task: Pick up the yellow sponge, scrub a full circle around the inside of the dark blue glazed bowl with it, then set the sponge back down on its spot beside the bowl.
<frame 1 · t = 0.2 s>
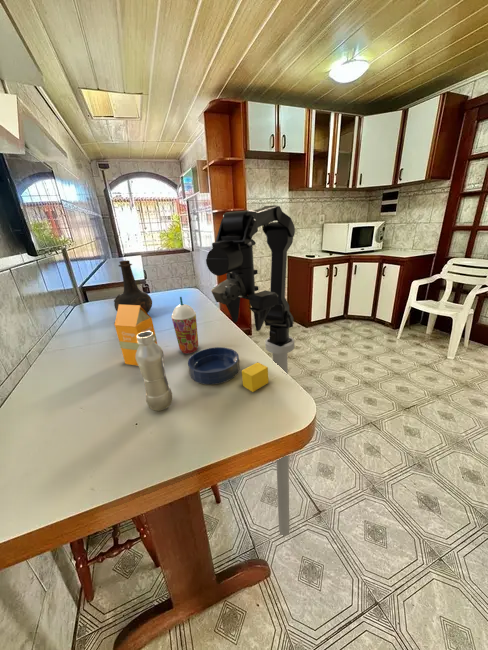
hand: (246, 326, 71), 16 cm above the table, tool pointing down, fingers open, 9 cm apart
bowl: (215, 371, 82), on the table
plastic bottle: (161, 405, 69), on the table
orange juice: (143, 360, 92), on the table
glass bottle: (136, 316, 137), on the table
sponge: (255, 384, 74), on the table
smoothie: (189, 350, 97), on the table
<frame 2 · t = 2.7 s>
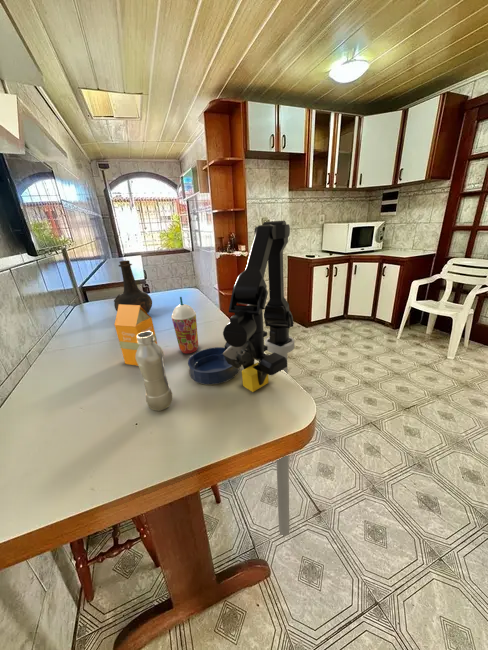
hand: (255, 381, 74), 1 cm above the table, tool pointing down, fingers closed on sponge, 4 cm apart
sponge: (255, 384, 74), on the table, touching gripper
everything else where it was.
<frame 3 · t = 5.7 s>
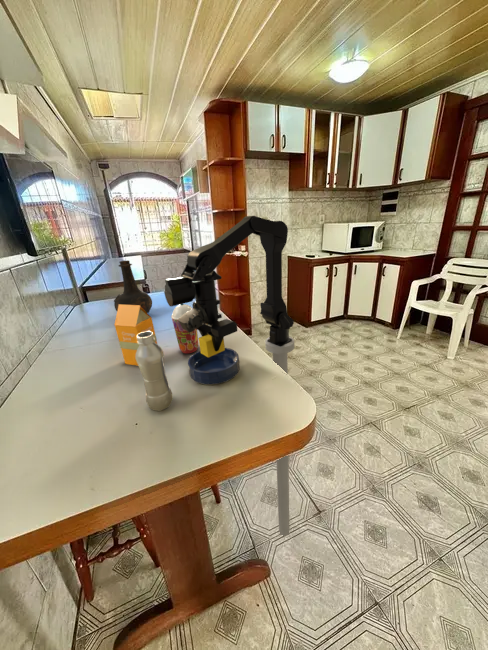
hand: (212, 348, 79), 8 cm above the table, tool pointing down, fingers closed on sponge, 4 cm apart
sponge: (212, 351, 79), point 7 cm above the table, touching gripper
everything else where it was.
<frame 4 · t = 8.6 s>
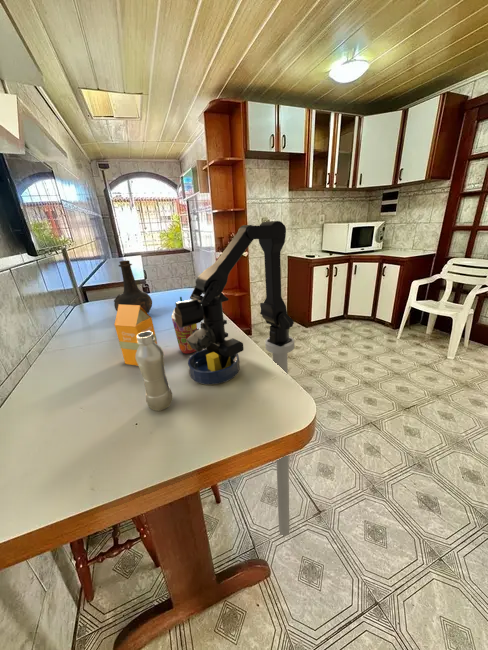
hand: (219, 365, 82), 1 cm above the table, tool pointing down, fingers closed on sponge, 4 cm apart
sponge: (219, 367, 83), point 1 cm above the table, touching gripper
everything else where it was.
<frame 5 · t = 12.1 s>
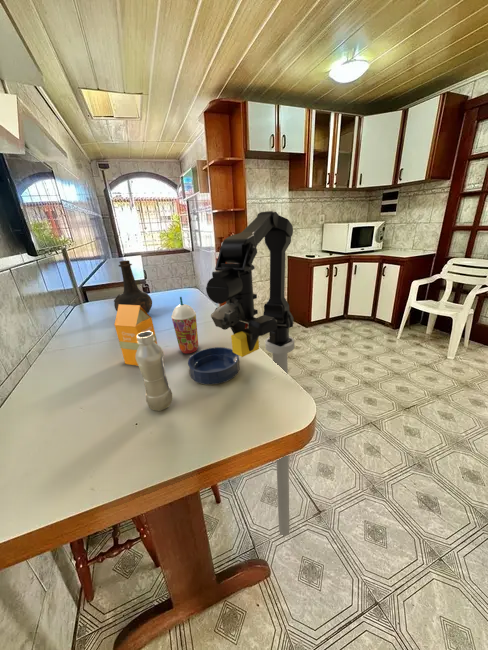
hand: (245, 348, 71), 11 cm above the table, tool pointing down, fingers closed on sponge, 4 cm apart
sponge: (245, 350, 72), point 10 cm above the table, touching gripper
everything else where it was.
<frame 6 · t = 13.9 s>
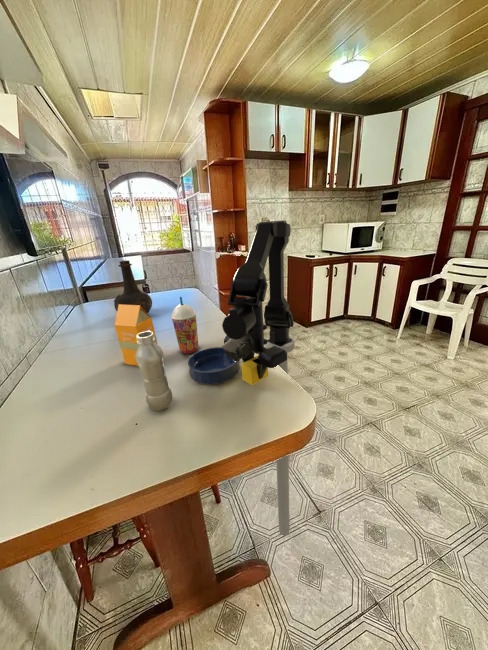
hand: (255, 375, 73), 3 cm above the table, tool pointing down, fingers closed on sponge, 4 cm apart
sponge: (255, 377, 73), point 2 cm above the table, touching gripper
everything else where it was.
when the fingers open (1 cm above the table, at t = 14.9 s): sponge stays where it is, on the table.
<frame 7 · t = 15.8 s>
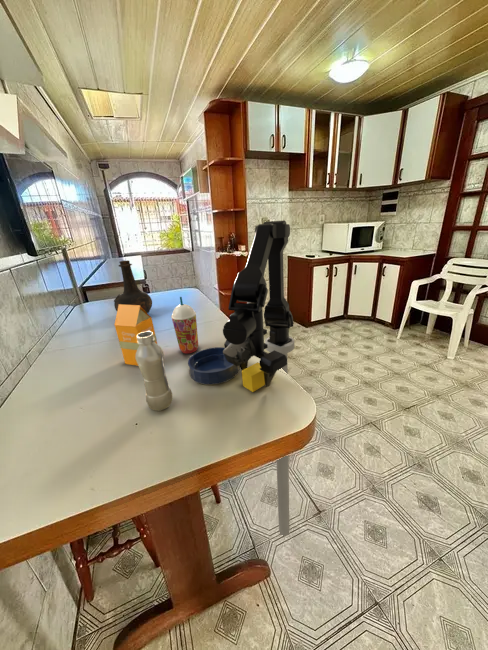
hand: (255, 379, 73), 2 cm above the table, tool pointing down, fingers open, 9 cm apart
sponge: (255, 384, 74), on the table
everything else where it was.
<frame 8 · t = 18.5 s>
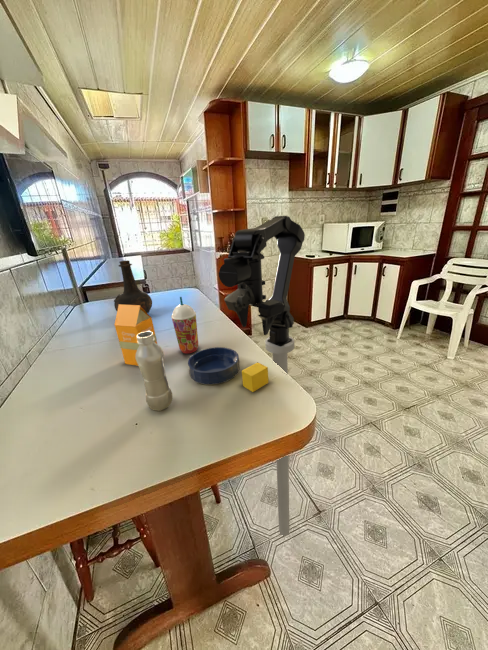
hand: (254, 330, 79), 12 cm above the table, tool pointing down, fingers open, 9 cm apart
nothing on the table moved.
at the end: sponge 0.0 cm from the target spot, on the table; sponge tilted 0°; the gripper is holding nothing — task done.
